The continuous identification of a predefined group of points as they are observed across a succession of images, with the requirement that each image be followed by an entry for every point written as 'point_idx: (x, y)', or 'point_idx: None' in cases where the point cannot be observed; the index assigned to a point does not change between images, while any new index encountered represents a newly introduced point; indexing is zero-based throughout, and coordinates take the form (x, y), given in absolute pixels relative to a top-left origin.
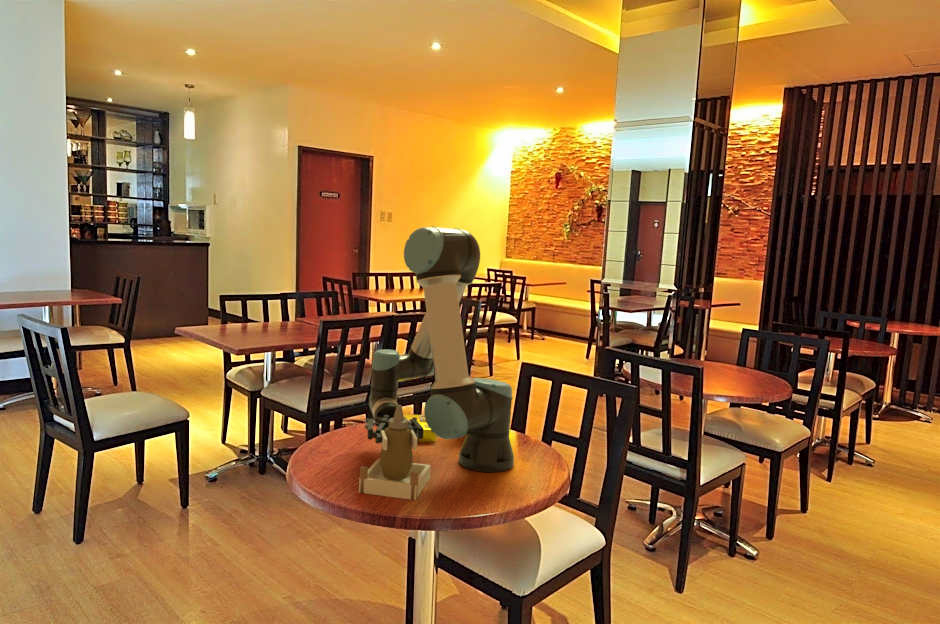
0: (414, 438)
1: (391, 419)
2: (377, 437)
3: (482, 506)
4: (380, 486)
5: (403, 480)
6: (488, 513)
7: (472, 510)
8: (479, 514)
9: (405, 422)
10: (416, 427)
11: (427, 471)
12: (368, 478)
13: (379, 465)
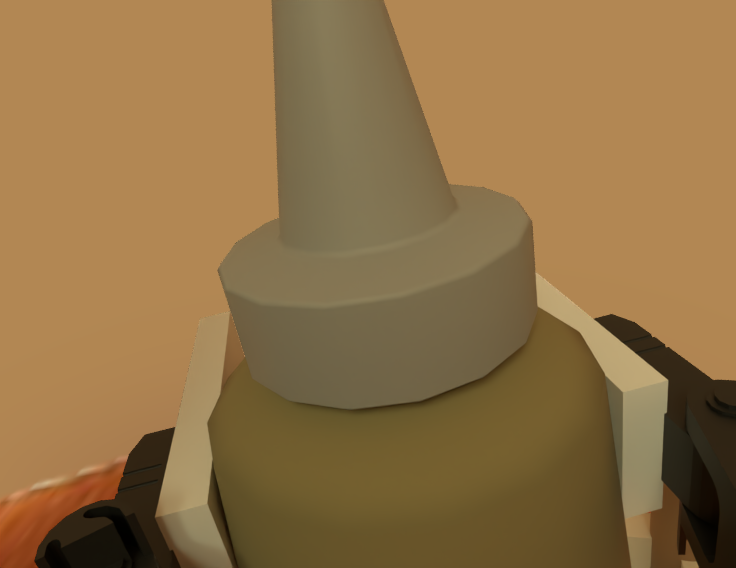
0: (228, 314)
1: (482, 205)
2: (629, 329)
3: (5, 544)
4: None
5: None
6: (27, 489)
7: (77, 501)
8: (70, 476)
9: (273, 223)
10: (72, 519)
11: None
12: (636, 528)
13: None
